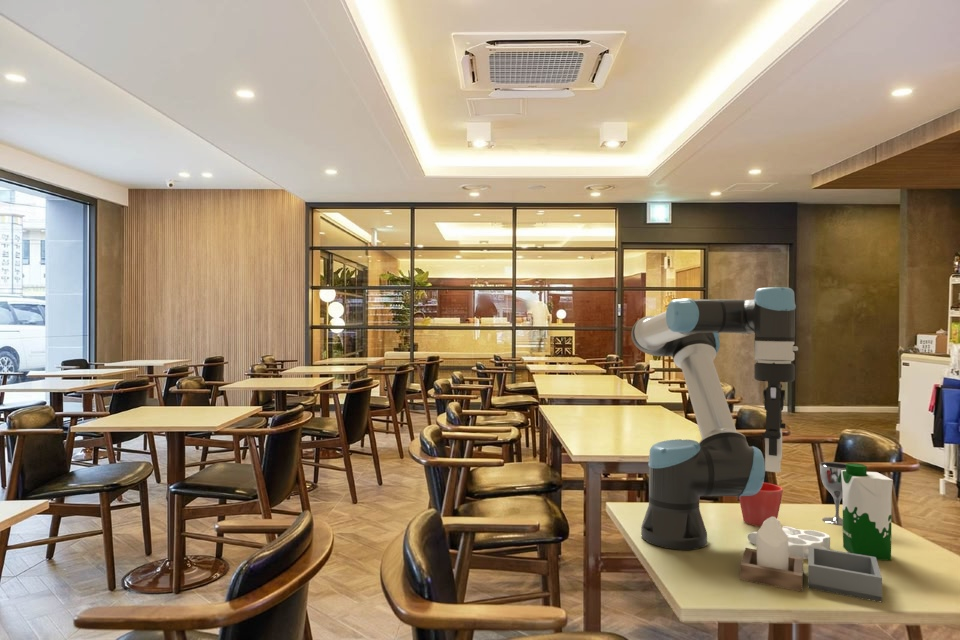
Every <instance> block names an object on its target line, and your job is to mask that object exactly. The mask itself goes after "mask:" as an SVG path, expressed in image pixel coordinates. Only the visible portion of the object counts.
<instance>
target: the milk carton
mask: <svg viewBox="0 0 960 640" xmlns="http://www.w3.org/2000/svg"><path fill="white" fill-rule="evenodd" d="M845 464H846V470H841V477H842V489H843V497H842V519H843V526H842V547H843V548H844V549H845V550H846V552H848V553H854V554H860V555H866V556H872V557H876V559H877V561H879V560H880V561H890V562H891V561H892V491H893V485H894V484H893V481H894V480H893V479H892V478H890V477H888V476H886V475H884V474H882V473H879V472H877V471H867V465H865V464H861V463H853V462H849V463H845Z"/></svg>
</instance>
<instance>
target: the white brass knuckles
mask: <svg viewBox="0 0 960 640" xmlns="http://www.w3.org/2000/svg"><path fill="white" fill-rule="evenodd" d="M781 527H782V529H783V531H784V532H785V533H786V535H787V536H788V552H789V555H791V556H796V557H802V558H803V560H808V552H809V546H811V547H817V548H823V549H829V550H831V537H830V535H829V534H828V533H825V532H822V531H819V530H814V529H813V530H812V529H800V528H799V529H798V528H794V527H792V526H786V525H783V526H782V525H781ZM756 534H757V531H752V532H749V533H748V534H747V539H748V541H749V542H750V543H751V544H752V545H755V546H756Z"/></svg>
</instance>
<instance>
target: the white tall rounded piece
mask: <svg viewBox="0 0 960 640" xmlns="http://www.w3.org/2000/svg"><path fill="white" fill-rule="evenodd" d="M756 532H757V534H756V545H755V547H756V550H757V565H759V566H764V567H770V568H775V569H781V570H786V571H788V563H789V562H788V560H789V558H788V557H789V552H788V536H787V535H786V533H785V532H784V531H783V529H782V525H781V521H780V520H779V518H778V517H777V518H776V517H773V516H772V517H770V518H767V519H766V520H765V521H764V522H763V525H762V526H761V527H759V529H758V530H757V531H756Z"/></svg>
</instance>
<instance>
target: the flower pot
mask: <svg viewBox="0 0 960 640" xmlns="http://www.w3.org/2000/svg"><path fill="white" fill-rule="evenodd" d="M783 491H784V489H783V488H782V486H779V485H777V484H773V483H770V482H763V485H762V487H761V489H760V491H759V492H758V493H757V494H755V495H752V496H741V497H738V500H739V504H740V510H741V514H742V519H743V522H744V521H745V522H744V523H746V524H749V525H751V526H754V525H755V527H759V528H761V526H762V525H763V522H764V521H765V520H766V519H767V518H770V517H772V516H773V517H776V518H777V519H778V517H779V512H780V508H781V502H782V498H783Z"/></svg>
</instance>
